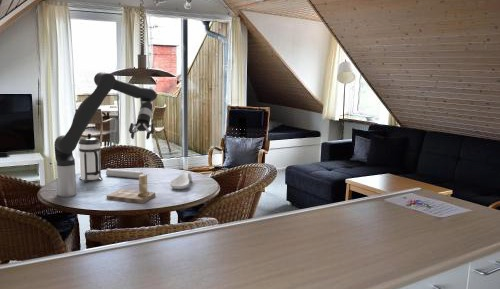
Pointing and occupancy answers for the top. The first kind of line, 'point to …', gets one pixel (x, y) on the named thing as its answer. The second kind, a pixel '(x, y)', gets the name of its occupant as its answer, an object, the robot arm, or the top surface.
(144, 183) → the tan wooden column
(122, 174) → the tube
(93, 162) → the coffee press
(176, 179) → the spoon rest
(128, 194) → the board
